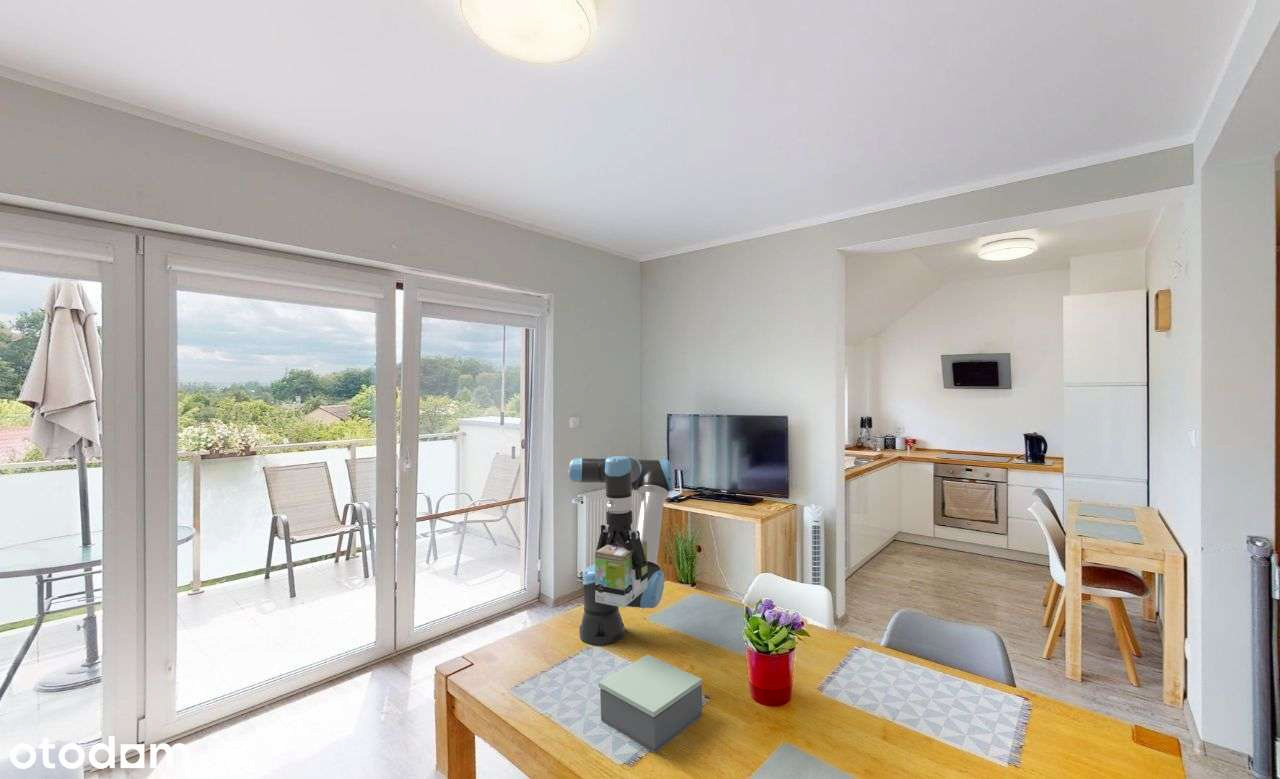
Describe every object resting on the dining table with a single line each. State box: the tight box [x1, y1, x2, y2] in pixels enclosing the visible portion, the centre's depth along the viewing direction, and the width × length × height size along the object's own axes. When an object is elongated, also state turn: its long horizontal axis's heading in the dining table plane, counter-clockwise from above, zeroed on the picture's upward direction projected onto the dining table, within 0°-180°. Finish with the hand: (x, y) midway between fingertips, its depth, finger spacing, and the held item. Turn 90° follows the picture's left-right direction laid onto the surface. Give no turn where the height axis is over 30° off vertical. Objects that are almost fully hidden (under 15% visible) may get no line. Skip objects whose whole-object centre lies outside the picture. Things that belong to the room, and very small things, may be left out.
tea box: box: [594, 540, 648, 608], centre depth 153 cm, size 15×10×15 cm
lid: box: [597, 654, 703, 717], centre depth 132 cm, size 18×18×1 cm
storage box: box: [599, 683, 703, 754], centre depth 132 cm, size 18×18×8 cm
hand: (621, 585), depth 153 cm, fingers closed on tea box, 11 cm apart
